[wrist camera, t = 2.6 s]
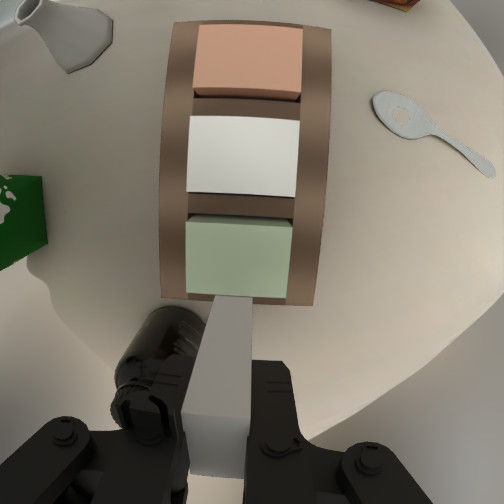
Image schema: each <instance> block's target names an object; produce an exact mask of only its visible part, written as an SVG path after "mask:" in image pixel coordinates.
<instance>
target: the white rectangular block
mask: <svg viewBox="0 0 504 504" xmlns="http://www.w3.org/2000/svg"><path fill="white" fill-rule="evenodd" d="M299 126H300V121H296V120H286V119H273V118H259V117H238V116H190V125H189V141H188V161H187V186H186V192H214V193H237V194H256V195H273V196H287V197H295V191H296V177H297V162H298V145H299Z"/></svg>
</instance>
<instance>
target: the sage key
mask: <svg viewBox="0 0 504 504" xmlns="http://www.w3.org/2000/svg"><path fill="white" fill-rule="evenodd" d="M292 229H293V227H292V226H291V224H290V223H289V222H288V220H287V219H286V218H279V217H263V216H245V215H225V214H202V213H196V214H195V215H194V216H193V217H191V218H190V219H189V220H188V221H186V292H187V293H201V294H215V295H232V296H250V297H271V298H286V292H287V282H288V273H289V262H290V252H291V240H292Z"/></svg>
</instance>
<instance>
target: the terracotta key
mask: <svg viewBox="0 0 504 504" xmlns="http://www.w3.org/2000/svg"><path fill="white" fill-rule="evenodd" d="M302 40H303V29H298V28H289V27H279V26H266V25H244V24H210V25H199V33H198V41H197V49H196V58H195V67H194V77H193V87H192V88H193V89H194V90H195V92H196V93H197V94H198V96H199V97H200V98H227V99H254V100H270V101H283V102H293V103H294V102H295V101H296V99H297V98H298V96H299V95H300V93H301V79H302Z"/></svg>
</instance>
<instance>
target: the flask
mask: <svg viewBox="0 0 504 504" xmlns="http://www.w3.org/2000/svg"><path fill="white" fill-rule="evenodd" d="M14 20H15V21H16V23H17V24H18V25H20V26H22V25H24V24H26V25H29V26H30V27H32V28H34V29H35V30H36V31H37V32H38V33H39V34H40V36H41V37H42V39H43V40H44V42H45V43H46V45H47V47H48V48H49V50H50V52H51V54H52V56H53V57H54V59H55V60H56V62H57V63H58V64H59V65H60V66H61V67H62V68H63V69H64V70H65V71H66V72H67V73H70V72H72V71H75V70H77V69H80V68H82V67H85V66H87V65H90V64H91V63H92V62H93V61H94V60H95V59H96V58H97V57H98V56H99V55H100V54H101V53H102V52H103V51H104V50H105V48H106V47H107V46H108V45H109V44H110V43H111V42H112V19H110V18H109V17H108V16H106V15H105V14H104V13H103V12H101V11H100V10H98V9H92V8H83V7H75V6H68V5H61V4H58V3H55V2H52V1H49V0H23V1H22V2H21V4H20V5H19V6H18V7H17V8H16V12H15V16H14Z"/></svg>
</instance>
